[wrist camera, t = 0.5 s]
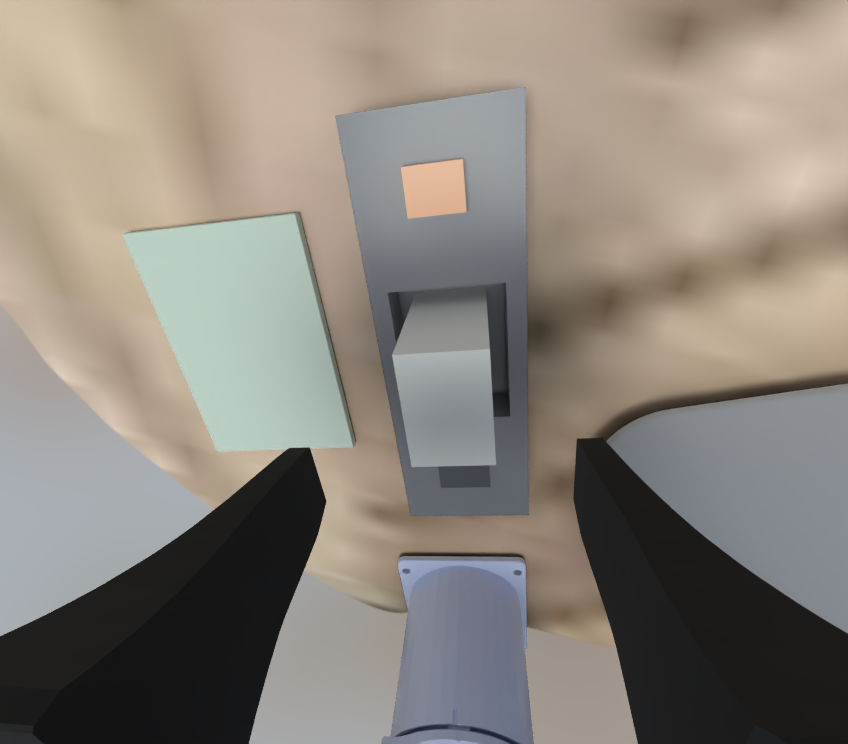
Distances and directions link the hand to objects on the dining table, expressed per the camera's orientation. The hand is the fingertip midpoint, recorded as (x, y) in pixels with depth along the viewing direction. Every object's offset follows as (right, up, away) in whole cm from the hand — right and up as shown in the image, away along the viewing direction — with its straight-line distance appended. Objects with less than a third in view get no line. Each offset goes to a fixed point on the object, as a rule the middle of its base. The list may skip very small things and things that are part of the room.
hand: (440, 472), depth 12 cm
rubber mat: (-9, +4, +10) cm, 14 cm away
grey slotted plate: (+1, +4, +8) cm, 9 cm away
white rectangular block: (+1, +4, +8) cm, 9 cm away
